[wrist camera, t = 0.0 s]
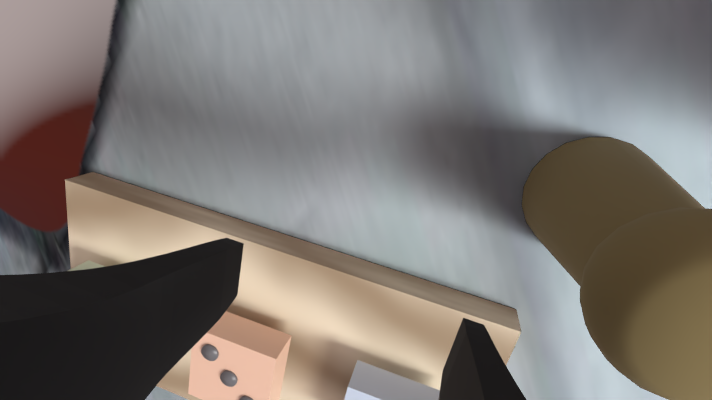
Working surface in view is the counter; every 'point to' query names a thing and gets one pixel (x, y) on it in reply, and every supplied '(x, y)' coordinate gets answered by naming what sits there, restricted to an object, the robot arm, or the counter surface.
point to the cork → (631, 260)
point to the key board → (290, 291)
